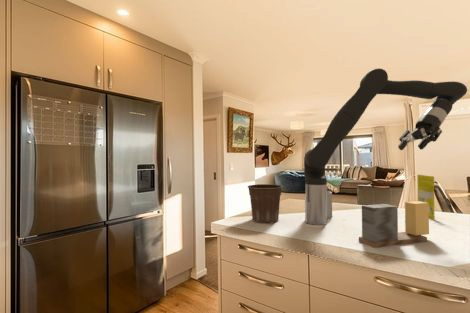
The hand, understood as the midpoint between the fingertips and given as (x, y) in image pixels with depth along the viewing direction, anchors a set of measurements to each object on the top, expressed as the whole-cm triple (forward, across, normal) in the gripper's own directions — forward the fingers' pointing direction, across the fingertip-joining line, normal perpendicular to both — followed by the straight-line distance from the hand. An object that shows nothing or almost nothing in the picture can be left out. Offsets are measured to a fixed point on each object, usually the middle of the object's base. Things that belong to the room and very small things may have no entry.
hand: (409, 148), depth 102 cm
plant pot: (+57, -33, -11) cm, 67 cm away
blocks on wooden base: (+36, +8, +10) cm, 38 cm away
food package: (+2, -17, +45) cm, 48 cm away
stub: (+27, +8, +17) cm, 33 cm away
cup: (+36, -33, +11) cm, 50 cm away
